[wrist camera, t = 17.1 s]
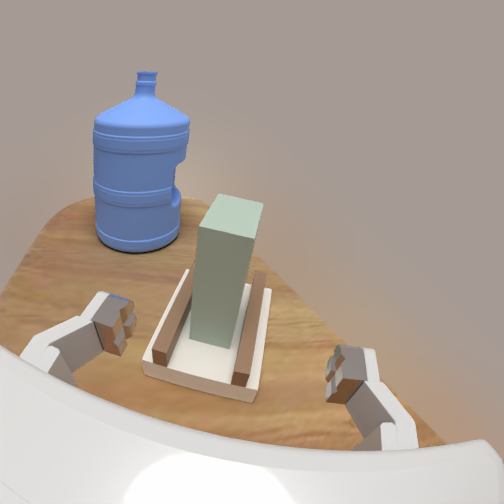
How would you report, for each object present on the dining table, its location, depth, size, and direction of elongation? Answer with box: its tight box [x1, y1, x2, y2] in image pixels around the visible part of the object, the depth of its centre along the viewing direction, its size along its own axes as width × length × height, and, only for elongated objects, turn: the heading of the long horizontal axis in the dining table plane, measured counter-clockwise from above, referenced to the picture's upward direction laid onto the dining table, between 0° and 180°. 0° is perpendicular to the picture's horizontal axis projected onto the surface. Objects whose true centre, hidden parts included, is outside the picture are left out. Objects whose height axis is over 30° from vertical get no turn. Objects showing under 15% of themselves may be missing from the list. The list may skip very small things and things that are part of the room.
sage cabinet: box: [189, 194, 263, 349], centre depth 30 cm, size 4×8×14 cm, turn 172°
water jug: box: [93, 72, 190, 252], centre depth 44 cm, size 16×16×28 cm
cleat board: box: [142, 261, 272, 403], centre depth 34 cm, size 12×16×6 cm
